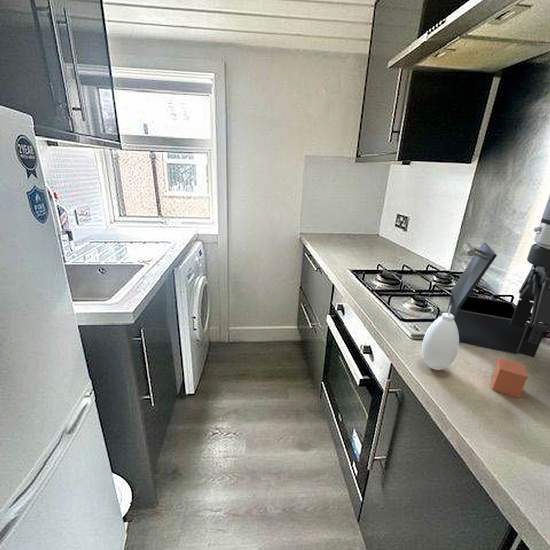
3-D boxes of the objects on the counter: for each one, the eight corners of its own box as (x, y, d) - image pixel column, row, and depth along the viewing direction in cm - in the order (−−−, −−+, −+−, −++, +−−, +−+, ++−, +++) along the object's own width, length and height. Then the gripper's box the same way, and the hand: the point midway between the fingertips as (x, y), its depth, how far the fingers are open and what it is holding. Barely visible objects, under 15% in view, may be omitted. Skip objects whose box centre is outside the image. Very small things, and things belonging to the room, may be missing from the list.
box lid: (486, 243, 90) (466, 235, 92) (497, 255, 78) (474, 246, 80) (453, 291, 98) (435, 284, 100) (459, 309, 86) (438, 300, 88)
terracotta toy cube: (516, 385, 72) (524, 364, 70) (518, 398, 68) (527, 377, 66) (491, 377, 75) (498, 357, 72) (492, 389, 71) (500, 368, 68)
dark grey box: (504, 330, 96) (513, 302, 92) (516, 354, 84) (528, 323, 81) (444, 319, 102) (451, 292, 98) (449, 339, 90) (457, 310, 87)
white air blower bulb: (447, 361, 80) (465, 300, 74) (454, 380, 73) (474, 315, 67) (415, 355, 82) (430, 295, 76) (419, 373, 75) (435, 309, 69)
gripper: (523, 232, 71) (496, 312, 79) (545, 258, 51) (505, 362, 59) (565, 237, 67) (532, 320, 75) (606, 268, 47) (555, 377, 55)
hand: (520, 339), depth 67 cm, fingers open, 13 cm apart
